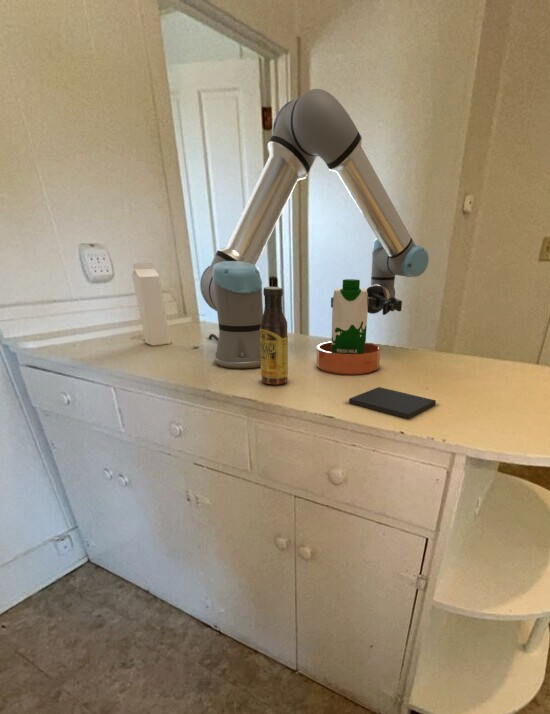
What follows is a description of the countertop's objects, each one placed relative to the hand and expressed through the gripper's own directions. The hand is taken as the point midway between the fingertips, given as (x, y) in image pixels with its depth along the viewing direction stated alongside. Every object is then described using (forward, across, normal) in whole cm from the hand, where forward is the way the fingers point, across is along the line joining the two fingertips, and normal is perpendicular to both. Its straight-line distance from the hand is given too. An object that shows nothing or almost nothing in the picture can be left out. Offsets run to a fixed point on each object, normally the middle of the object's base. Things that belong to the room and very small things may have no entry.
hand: (358, 307), depth 113 cm
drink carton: (+9, 0, -13) cm, 16 cm away
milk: (+1, +65, -13) cm, 66 cm away
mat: (+35, -16, -13) cm, 41 cm away
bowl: (+9, 0, -13) cm, 16 cm away
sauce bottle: (+29, +12, -13) cm, 34 cm away
